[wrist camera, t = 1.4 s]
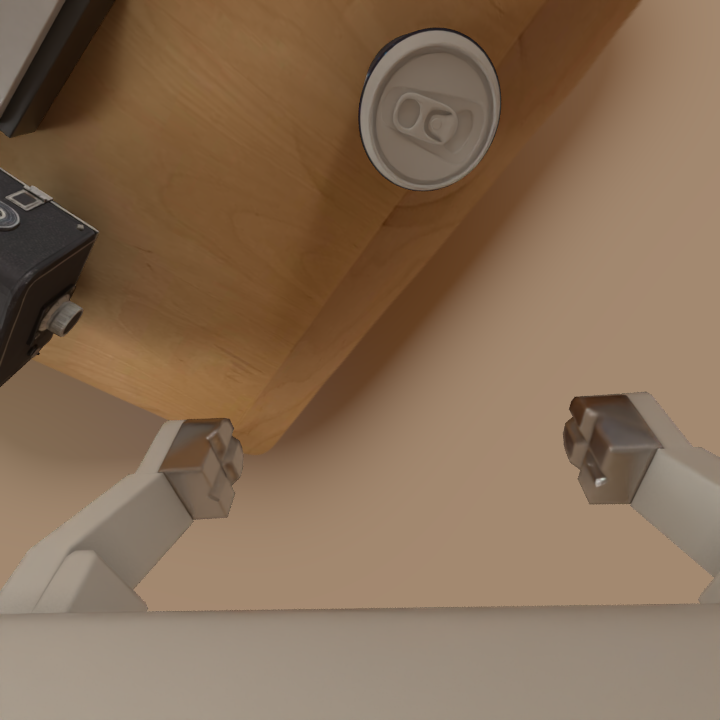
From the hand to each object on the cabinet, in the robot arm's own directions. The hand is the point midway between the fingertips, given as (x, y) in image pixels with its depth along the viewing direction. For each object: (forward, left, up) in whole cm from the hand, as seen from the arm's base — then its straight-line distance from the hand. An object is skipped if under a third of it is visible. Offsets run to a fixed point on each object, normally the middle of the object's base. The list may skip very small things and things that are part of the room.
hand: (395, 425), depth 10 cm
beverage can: (-4, -3, -23) cm, 24 cm away
